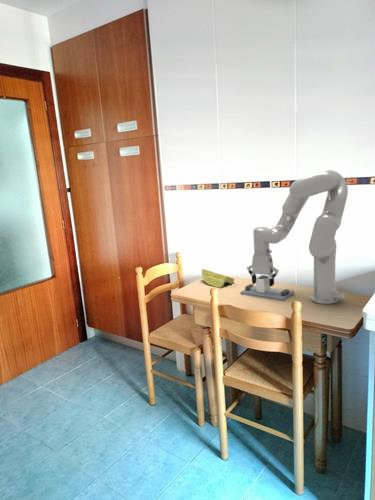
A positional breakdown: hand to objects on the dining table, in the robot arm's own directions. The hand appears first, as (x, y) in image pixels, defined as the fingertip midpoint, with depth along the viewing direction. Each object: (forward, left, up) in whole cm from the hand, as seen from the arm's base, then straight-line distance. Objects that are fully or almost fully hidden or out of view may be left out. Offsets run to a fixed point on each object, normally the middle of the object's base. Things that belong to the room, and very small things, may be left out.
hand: (262, 284), depth 199 cm
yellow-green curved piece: (+32, -6, -5) cm, 33 cm away
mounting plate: (-2, 0, -5) cm, 5 cm away
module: (0, 0, -3) cm, 3 cm away
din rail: (-2, 0, -4) cm, 4 cm away
